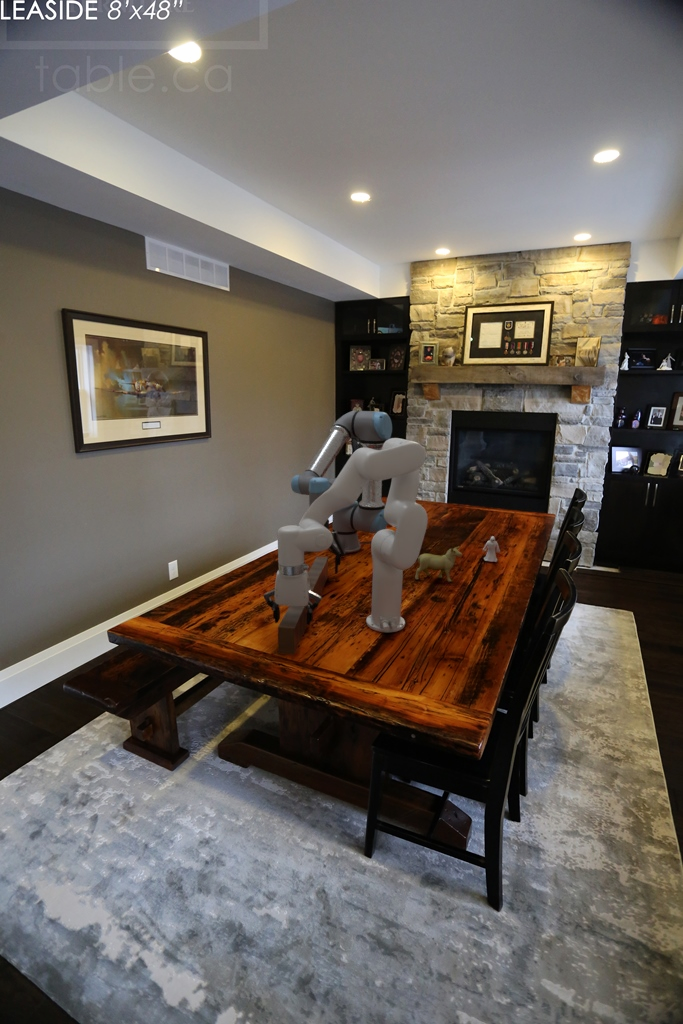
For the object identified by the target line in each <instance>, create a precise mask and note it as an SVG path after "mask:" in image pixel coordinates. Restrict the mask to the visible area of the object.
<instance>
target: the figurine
mask: <svg viewBox="0 0 683 1024" xmlns="http://www.w3.org/2000/svg"><path fill="white" fill-rule="evenodd" d="M482 551H483V552H486V554H485V556H484V557H483V560H484V561H485V562H495V563H498V558H497V554H496V553H498V554H499V553H501V550H500V547H499V543H498V541H497V540H496V538H495V536H493V535H492V536H490V539H489V540H487V542H486V543H485V544H484V546H483V548H482Z"/></svg>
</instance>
